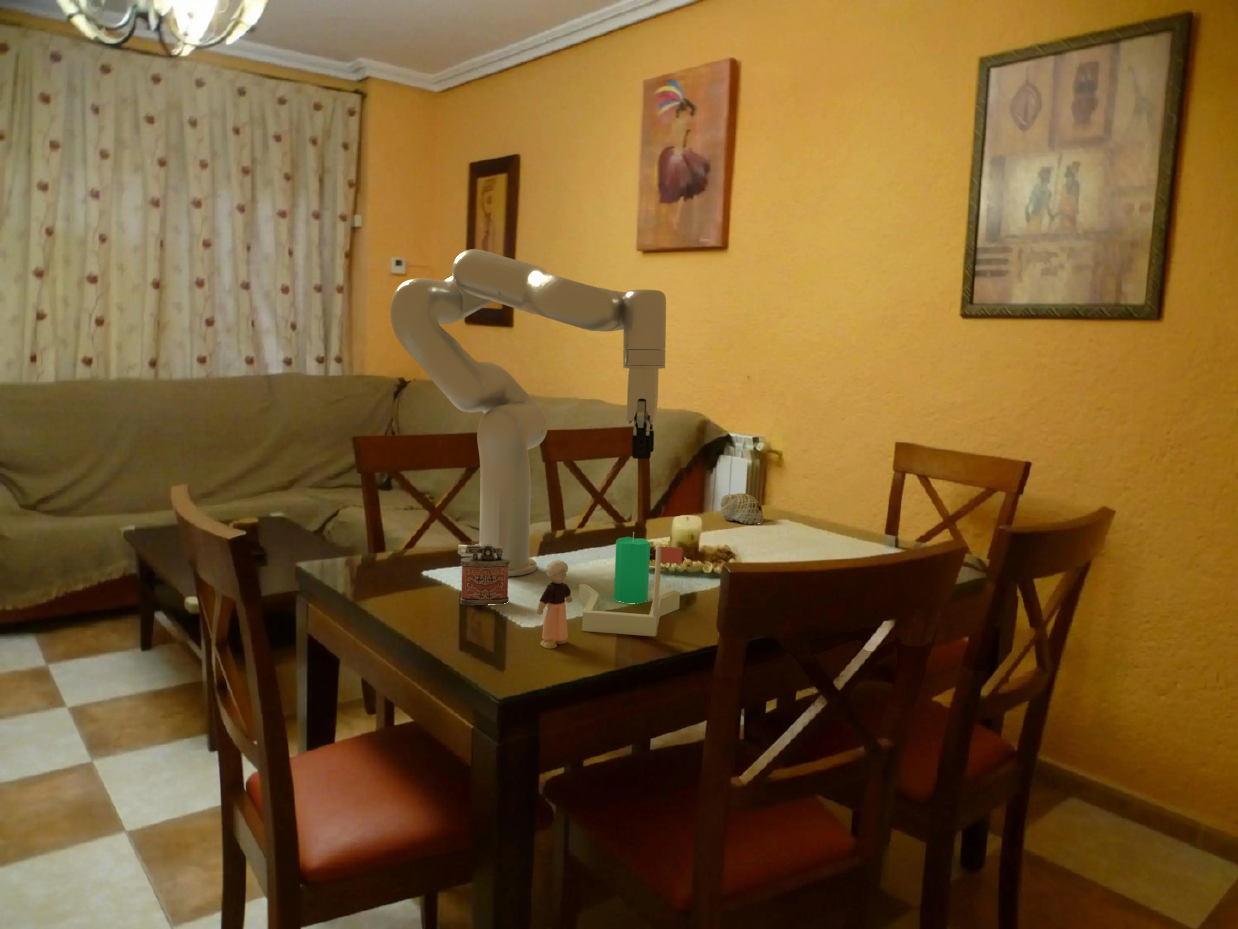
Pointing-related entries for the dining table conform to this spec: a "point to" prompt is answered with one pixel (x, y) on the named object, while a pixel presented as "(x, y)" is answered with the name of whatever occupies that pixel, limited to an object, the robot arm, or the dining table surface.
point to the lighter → (484, 576)
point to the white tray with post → (630, 621)
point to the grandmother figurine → (555, 605)
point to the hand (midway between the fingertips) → (643, 455)
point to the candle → (631, 570)
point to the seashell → (741, 508)
